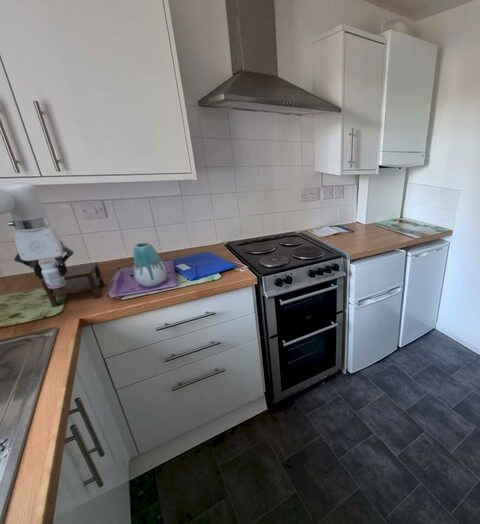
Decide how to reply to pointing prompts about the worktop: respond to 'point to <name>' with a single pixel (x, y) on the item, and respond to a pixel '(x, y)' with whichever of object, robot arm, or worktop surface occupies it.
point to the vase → (148, 266)
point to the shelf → (77, 281)
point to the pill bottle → (52, 275)
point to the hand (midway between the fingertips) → (53, 275)
